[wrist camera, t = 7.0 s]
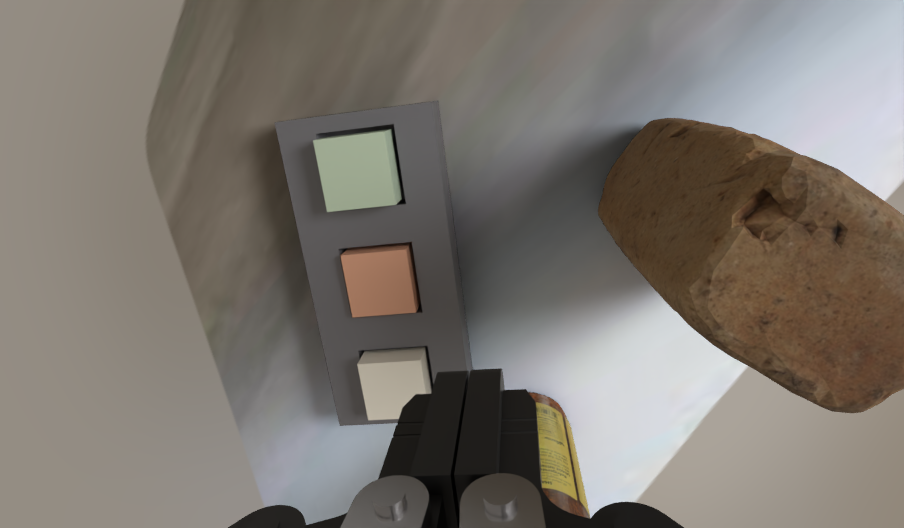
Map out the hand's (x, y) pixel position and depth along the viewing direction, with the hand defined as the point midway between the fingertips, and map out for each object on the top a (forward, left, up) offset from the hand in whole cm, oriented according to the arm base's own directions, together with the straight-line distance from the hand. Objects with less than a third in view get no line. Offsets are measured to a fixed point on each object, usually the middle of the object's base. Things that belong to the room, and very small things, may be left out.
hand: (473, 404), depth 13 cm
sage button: (-3, -8, -23) cm, 25 cm away
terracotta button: (+4, -8, -24) cm, 26 cm away
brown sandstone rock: (+1, +12, -26) cm, 28 cm away
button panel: (+4, -8, -26) cm, 27 cm away
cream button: (+12, -8, -23) cm, 27 cm away
